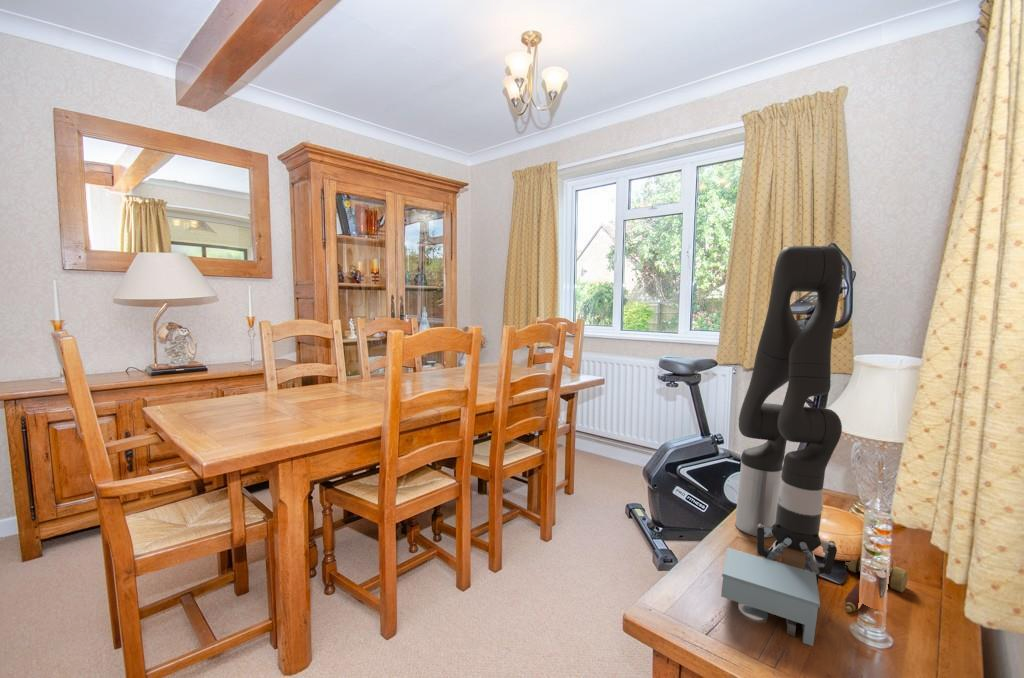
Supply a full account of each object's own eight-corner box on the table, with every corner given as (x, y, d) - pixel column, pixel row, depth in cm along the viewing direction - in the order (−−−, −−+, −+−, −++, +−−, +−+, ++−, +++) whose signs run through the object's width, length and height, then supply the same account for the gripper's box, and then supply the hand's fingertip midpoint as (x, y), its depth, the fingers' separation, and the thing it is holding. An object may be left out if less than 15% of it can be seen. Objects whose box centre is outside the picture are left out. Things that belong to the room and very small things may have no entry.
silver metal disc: (738, 602, 91) (739, 595, 91) (767, 612, 89) (768, 605, 89) (737, 617, 87) (737, 610, 87) (767, 628, 84) (767, 621, 84)
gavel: (881, 614, 85) (819, 586, 92) (878, 636, 85) (817, 606, 93) (909, 567, 98) (852, 545, 105) (906, 587, 98) (850, 564, 106)
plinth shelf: (723, 583, 96) (727, 547, 95) (810, 612, 89) (815, 572, 88) (718, 613, 87) (722, 573, 86) (814, 647, 80) (820, 604, 79)
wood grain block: (777, 583, 97) (782, 538, 96) (799, 589, 96) (805, 544, 94) (778, 630, 84) (784, 579, 82) (803, 639, 82) (810, 587, 81)
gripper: (840, 507, 92) (830, 584, 94) (759, 488, 99) (751, 561, 101) (845, 522, 86) (834, 605, 88) (758, 502, 93) (749, 579, 95)
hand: (790, 581), depth 94 cm, fingers open, 6 cm apart
